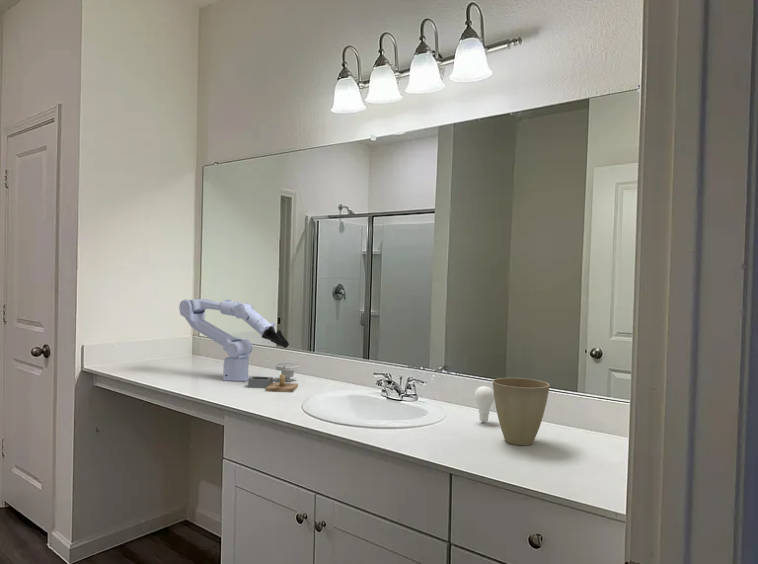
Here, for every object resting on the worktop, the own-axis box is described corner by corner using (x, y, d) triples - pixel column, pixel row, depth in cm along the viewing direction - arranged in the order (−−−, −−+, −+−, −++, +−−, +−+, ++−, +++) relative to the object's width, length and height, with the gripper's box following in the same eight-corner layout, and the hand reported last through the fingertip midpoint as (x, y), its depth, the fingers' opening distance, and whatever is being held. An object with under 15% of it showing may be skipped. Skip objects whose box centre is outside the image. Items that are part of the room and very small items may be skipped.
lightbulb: (482, 426, 165) (483, 388, 164) (469, 421, 170) (470, 385, 170) (498, 424, 167) (499, 387, 167) (485, 419, 173) (486, 383, 173)
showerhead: (272, 364, 220) (279, 360, 230) (272, 383, 220) (279, 378, 230) (296, 365, 219) (302, 361, 229) (295, 384, 219) (301, 379, 229)
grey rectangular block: (248, 387, 210) (248, 379, 210) (252, 384, 216) (252, 376, 216) (269, 388, 210) (269, 379, 210) (272, 385, 215) (272, 377, 215)
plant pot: (559, 448, 145) (561, 386, 145) (508, 451, 141) (510, 388, 141) (528, 432, 160) (530, 376, 159) (481, 435, 155) (482, 377, 155)
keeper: (265, 391, 205) (265, 377, 205) (272, 385, 215) (272, 372, 214) (292, 392, 204) (292, 378, 204) (297, 386, 214) (298, 373, 214)
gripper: (259, 312, 215) (284, 333, 211) (272, 319, 229) (296, 339, 225) (247, 326, 215) (272, 348, 211) (261, 333, 228) (285, 353, 224)
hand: (284, 344), depth 218 cm, fingers open, 7 cm apart
